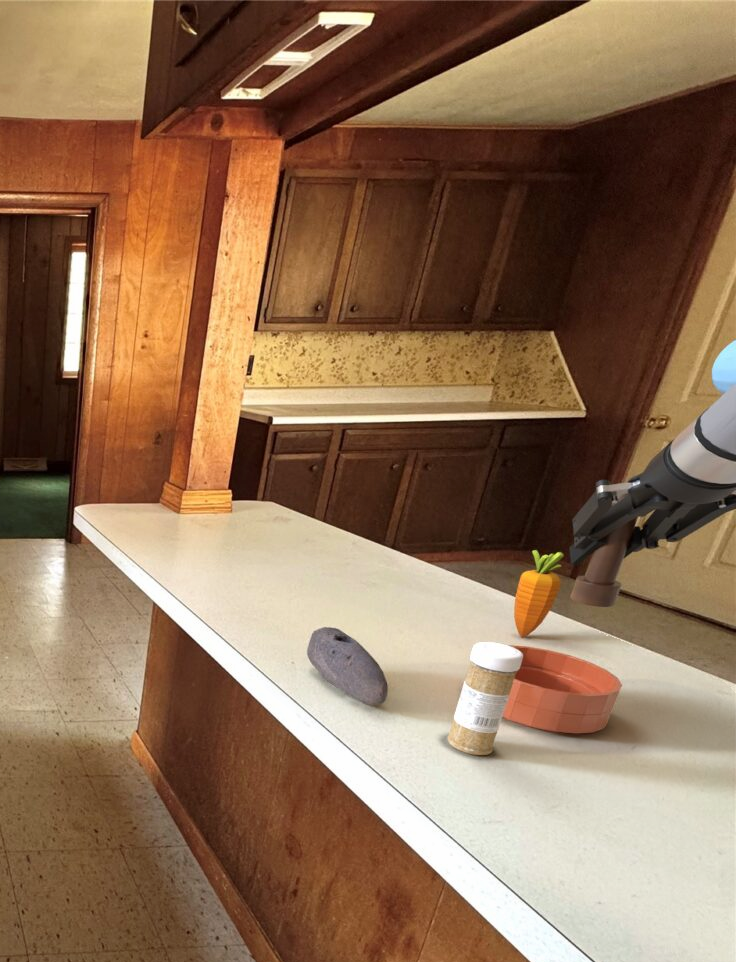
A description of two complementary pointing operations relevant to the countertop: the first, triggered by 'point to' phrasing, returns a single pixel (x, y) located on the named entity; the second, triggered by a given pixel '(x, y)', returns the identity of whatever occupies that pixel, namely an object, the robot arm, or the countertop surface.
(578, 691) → the bowl
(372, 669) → the perforated stone tool
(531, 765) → the countertop surface
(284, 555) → the countertop surface
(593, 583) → the brown pestle
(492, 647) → the sprinkles bottle
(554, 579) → the carrot
